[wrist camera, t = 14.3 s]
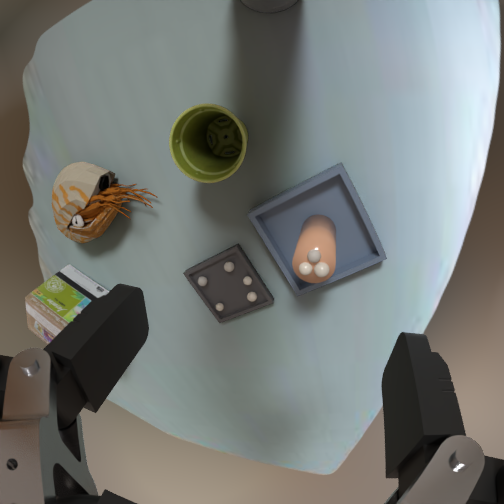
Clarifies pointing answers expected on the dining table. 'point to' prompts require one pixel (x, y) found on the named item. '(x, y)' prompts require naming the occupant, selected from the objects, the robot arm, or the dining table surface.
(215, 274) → the parts tray
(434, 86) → the dining table surface
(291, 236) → the shallow square tray
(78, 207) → the nautilus
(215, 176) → the plant pot
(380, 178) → the dining table surface
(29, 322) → the tea box
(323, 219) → the tan rounded pillar
